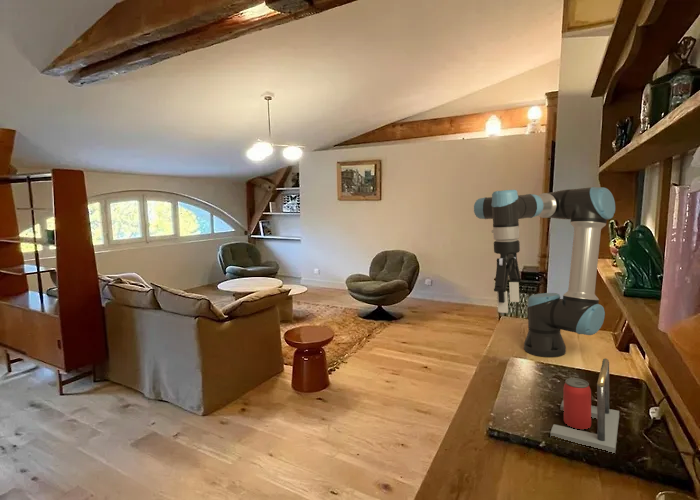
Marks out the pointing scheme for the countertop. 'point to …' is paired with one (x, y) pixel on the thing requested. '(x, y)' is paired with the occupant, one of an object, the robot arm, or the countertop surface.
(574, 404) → the beer can
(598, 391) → the hook arm
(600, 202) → the robot arm
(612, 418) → the grey u-shaped base plate
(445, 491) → the countertop surface
